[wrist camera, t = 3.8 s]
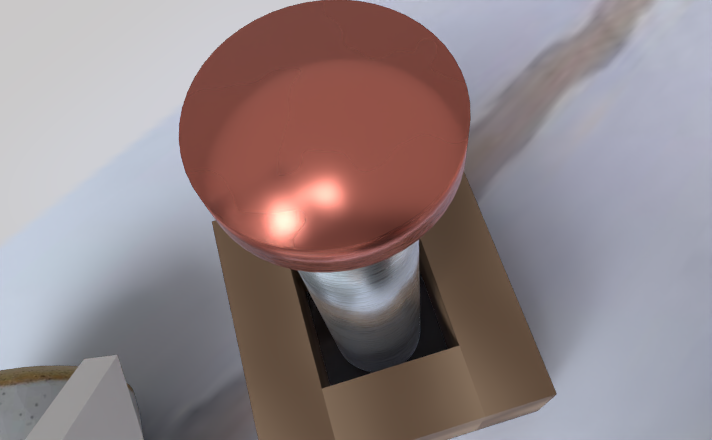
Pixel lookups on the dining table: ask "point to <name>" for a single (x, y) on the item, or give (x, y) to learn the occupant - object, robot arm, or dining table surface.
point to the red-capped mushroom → (333, 158)
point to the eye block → (401, 382)
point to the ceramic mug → (33, 397)
